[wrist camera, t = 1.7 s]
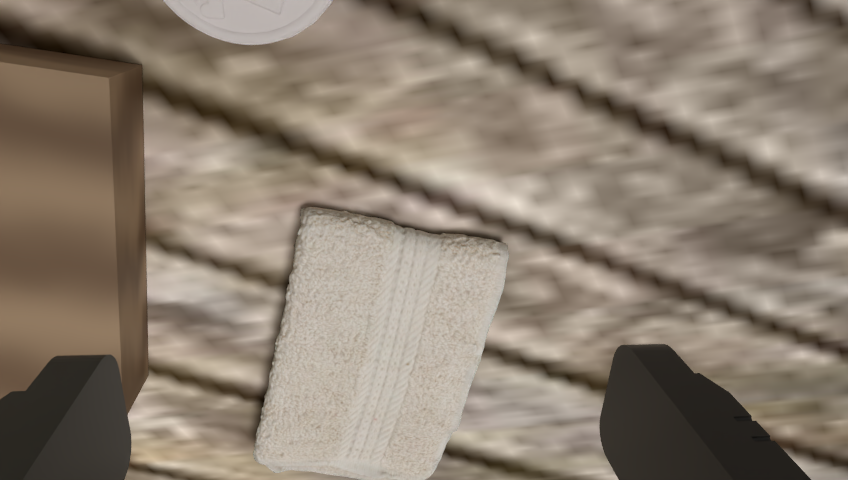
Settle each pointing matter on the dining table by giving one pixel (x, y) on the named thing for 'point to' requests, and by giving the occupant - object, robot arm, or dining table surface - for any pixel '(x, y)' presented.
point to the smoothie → (249, 18)
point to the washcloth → (376, 346)
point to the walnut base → (71, 215)
